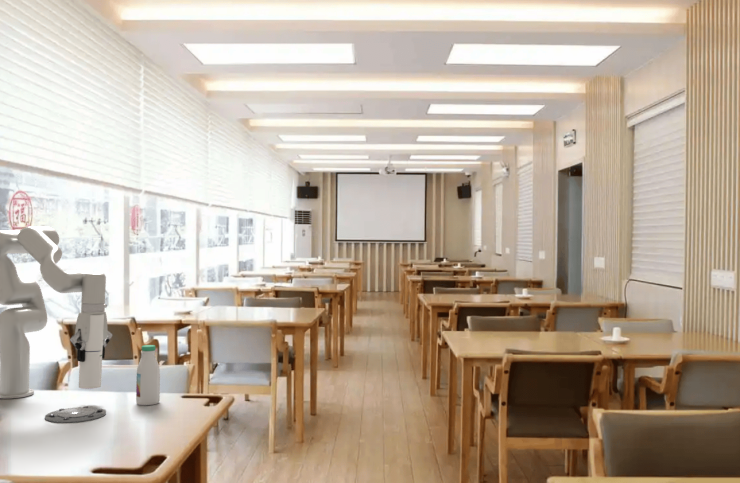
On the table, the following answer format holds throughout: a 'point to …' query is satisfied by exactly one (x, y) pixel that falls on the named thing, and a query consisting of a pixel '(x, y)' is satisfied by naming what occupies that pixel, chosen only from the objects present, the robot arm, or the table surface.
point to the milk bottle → (148, 378)
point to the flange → (75, 414)
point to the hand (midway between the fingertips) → (90, 359)
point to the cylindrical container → (92, 355)
